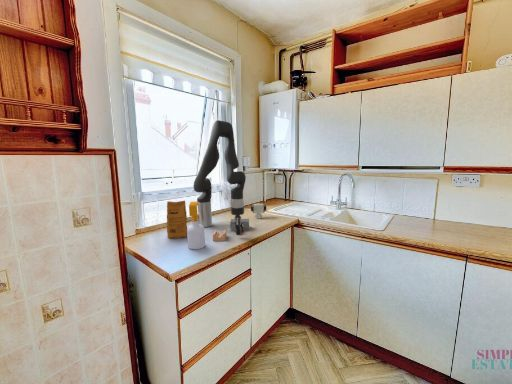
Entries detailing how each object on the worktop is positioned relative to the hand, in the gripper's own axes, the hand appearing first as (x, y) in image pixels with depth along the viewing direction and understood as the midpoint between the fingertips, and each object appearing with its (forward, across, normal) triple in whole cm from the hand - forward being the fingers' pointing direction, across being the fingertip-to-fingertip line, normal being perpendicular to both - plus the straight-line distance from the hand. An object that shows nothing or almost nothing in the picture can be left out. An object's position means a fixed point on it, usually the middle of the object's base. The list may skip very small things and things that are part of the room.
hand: (238, 234), depth 138 cm
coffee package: (+2, -6, -38) cm, 39 cm away
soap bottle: (+2, +12, -22) cm, 25 cm away
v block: (+2, +1, -11) cm, 11 cm away
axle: (+2, -13, 0) cm, 14 cm away
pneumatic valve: (+2, -42, +13) cm, 44 cm away
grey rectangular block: (+2, -16, 0) cm, 17 cm away
